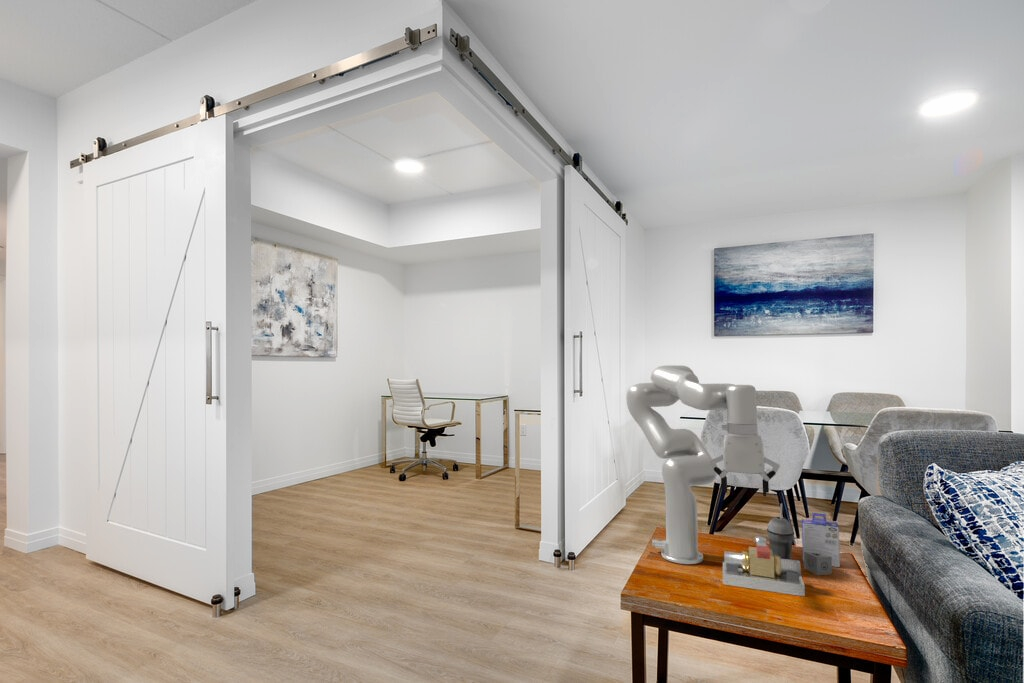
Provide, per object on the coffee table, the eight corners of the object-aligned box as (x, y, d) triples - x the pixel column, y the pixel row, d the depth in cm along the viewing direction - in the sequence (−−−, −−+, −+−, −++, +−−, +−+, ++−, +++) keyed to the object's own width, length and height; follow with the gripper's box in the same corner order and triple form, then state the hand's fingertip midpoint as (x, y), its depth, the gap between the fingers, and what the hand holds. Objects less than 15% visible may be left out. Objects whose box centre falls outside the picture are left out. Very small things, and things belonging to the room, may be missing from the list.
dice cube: (804, 568, 154) (803, 551, 154) (818, 567, 155) (818, 550, 155) (817, 575, 149) (816, 557, 149) (831, 574, 150) (831, 556, 150)
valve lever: (754, 541, 146) (754, 534, 146) (766, 542, 145) (766, 536, 145) (757, 557, 133) (757, 550, 134) (770, 559, 132) (770, 552, 132)
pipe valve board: (722, 584, 143) (722, 544, 144) (722, 572, 151) (722, 534, 152) (804, 596, 136) (803, 554, 136) (800, 583, 144) (799, 543, 144)
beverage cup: (788, 566, 156) (787, 499, 156) (799, 576, 148) (798, 506, 149) (763, 565, 156) (762, 498, 157) (773, 575, 149) (772, 505, 150)
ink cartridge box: (838, 561, 159) (837, 514, 160) (841, 568, 154) (839, 519, 155) (801, 556, 163) (800, 510, 164) (803, 562, 158) (802, 515, 159)
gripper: (707, 430, 141) (709, 493, 140) (778, 432, 134) (781, 499, 132) (709, 427, 148) (711, 488, 147) (777, 429, 140) (780, 493, 139)
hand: (744, 493), depth 140 cm, fingers open, 9 cm apart
